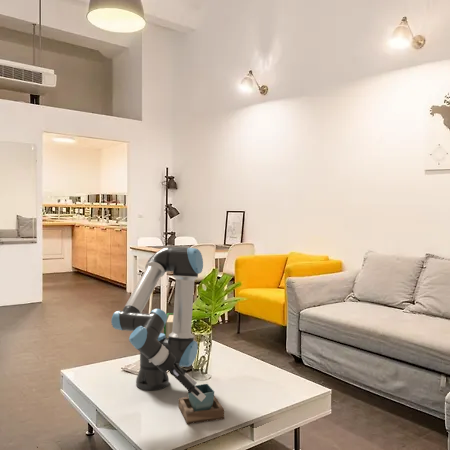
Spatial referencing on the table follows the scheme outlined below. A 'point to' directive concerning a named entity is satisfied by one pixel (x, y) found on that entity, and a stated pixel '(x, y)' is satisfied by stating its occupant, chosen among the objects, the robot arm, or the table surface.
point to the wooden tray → (200, 412)
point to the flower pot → (207, 401)
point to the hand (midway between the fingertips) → (198, 391)
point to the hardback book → (168, 324)
